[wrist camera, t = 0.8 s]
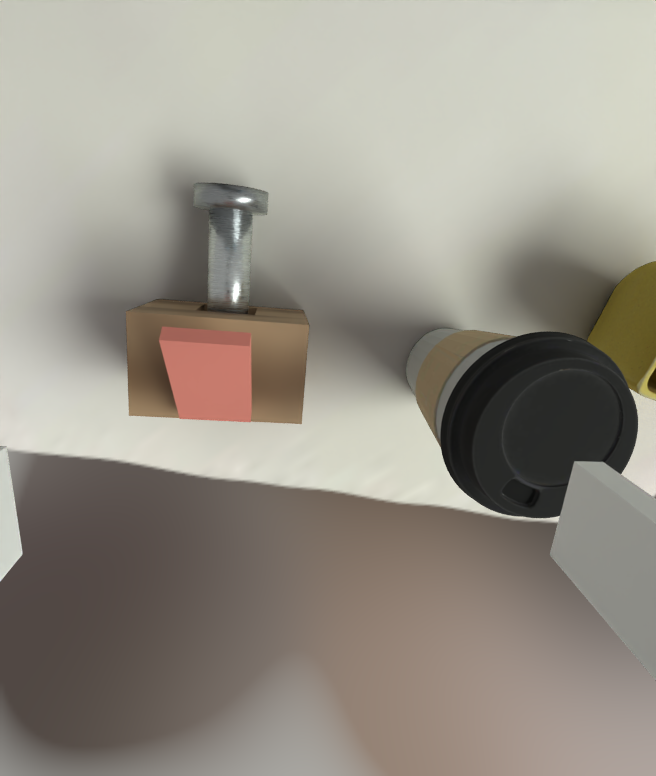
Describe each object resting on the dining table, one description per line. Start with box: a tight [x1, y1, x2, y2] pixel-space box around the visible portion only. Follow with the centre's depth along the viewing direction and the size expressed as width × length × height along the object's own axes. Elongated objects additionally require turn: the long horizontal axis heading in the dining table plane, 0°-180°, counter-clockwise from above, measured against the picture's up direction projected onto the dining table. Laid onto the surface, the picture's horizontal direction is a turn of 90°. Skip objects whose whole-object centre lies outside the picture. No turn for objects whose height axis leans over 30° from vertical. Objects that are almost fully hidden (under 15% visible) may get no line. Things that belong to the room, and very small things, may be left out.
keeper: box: [159, 327, 252, 422], centre depth 24 cm, size 7×4×1 cm
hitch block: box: [126, 299, 309, 424], centre depth 30 cm, size 6×10×7 cm, turn 85°
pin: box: [194, 183, 268, 314], centre depth 29 cm, size 11×4×4 cm, turn 175°
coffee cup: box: [406, 328, 638, 518], centre depth 28 cm, size 9×9×15 cm
